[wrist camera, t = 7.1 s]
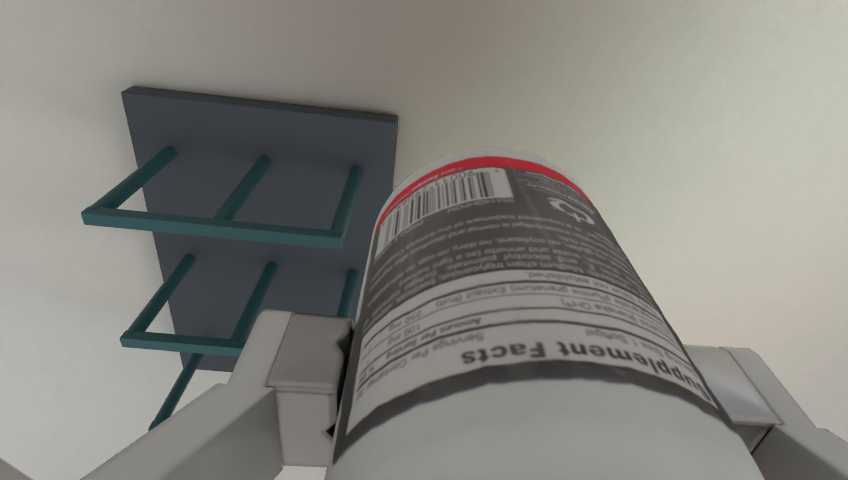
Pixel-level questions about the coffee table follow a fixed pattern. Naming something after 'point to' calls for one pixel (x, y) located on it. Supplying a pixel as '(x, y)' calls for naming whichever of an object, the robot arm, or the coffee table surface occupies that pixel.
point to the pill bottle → (517, 342)
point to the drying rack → (247, 215)
